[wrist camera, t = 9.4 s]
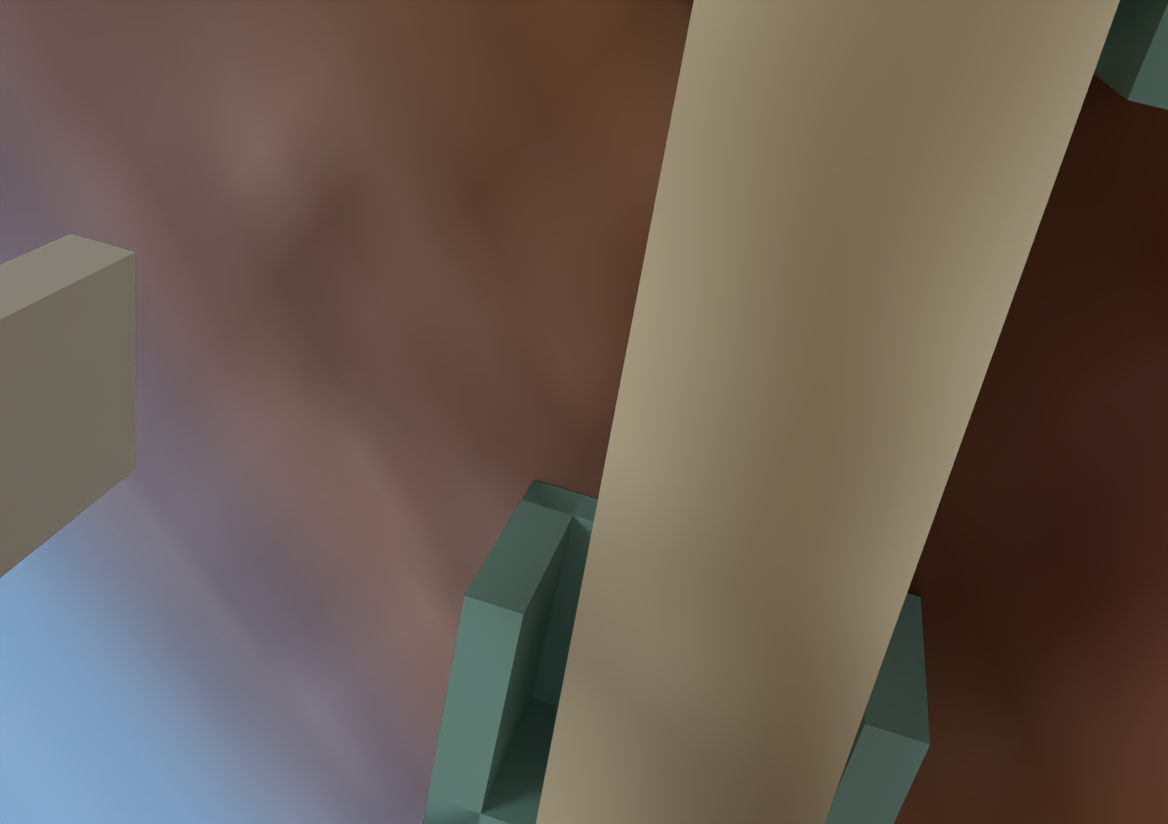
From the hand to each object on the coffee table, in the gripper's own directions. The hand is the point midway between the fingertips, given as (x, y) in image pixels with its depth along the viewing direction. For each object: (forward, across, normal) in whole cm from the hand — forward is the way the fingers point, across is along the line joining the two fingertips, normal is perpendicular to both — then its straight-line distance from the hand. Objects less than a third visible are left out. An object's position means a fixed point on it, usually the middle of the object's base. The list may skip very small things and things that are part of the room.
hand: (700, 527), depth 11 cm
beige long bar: (+7, +1, 0) cm, 7 cm away
